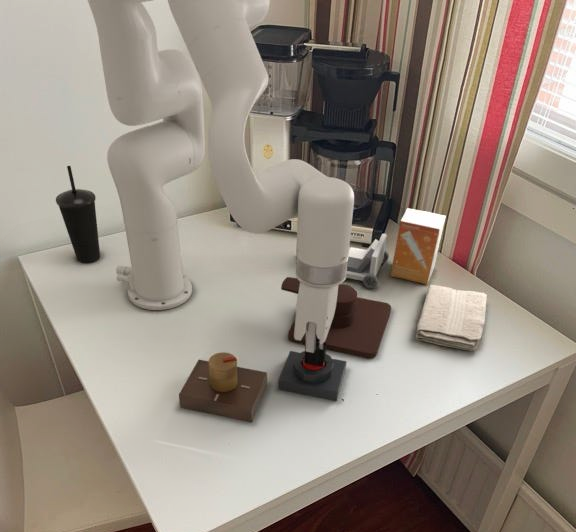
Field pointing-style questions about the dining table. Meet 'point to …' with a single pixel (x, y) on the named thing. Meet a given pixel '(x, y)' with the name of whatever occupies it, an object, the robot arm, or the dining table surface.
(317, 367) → the power button
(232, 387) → the dimmer knob
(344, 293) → the lever handle
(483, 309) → the washcloth
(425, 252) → the small box
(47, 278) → the dining table surface
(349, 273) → the toy car
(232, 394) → the dimmer panel
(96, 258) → the drinking cup
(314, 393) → the switch block
